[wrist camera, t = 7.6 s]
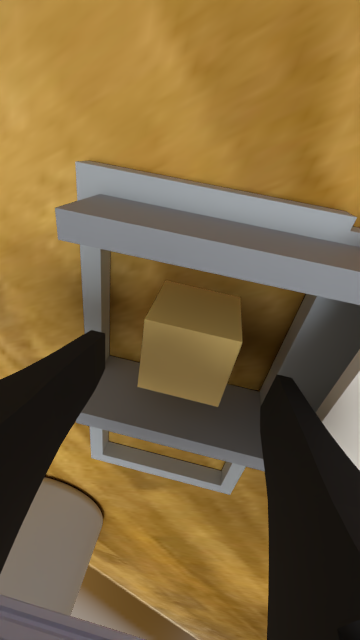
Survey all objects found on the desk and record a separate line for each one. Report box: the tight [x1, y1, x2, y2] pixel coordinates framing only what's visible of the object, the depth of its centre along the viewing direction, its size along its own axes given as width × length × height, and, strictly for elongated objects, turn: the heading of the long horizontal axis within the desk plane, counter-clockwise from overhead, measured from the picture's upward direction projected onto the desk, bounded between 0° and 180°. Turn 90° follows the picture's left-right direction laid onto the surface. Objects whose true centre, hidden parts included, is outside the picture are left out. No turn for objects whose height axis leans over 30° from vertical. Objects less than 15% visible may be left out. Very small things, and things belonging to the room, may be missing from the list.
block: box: [137, 280, 243, 407], centre depth 13 cm, size 4×4×4 cm
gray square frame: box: [55, 161, 360, 495], centre depth 15 cm, size 22×22×4 cm
